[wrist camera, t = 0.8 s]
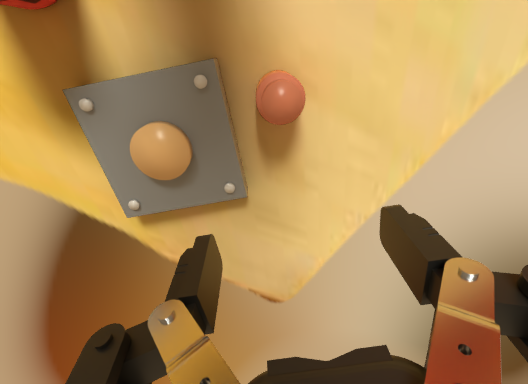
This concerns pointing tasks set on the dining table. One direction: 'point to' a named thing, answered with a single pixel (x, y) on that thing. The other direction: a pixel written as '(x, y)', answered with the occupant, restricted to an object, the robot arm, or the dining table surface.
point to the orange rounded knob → (279, 97)
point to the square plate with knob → (163, 137)
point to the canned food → (28, 3)
